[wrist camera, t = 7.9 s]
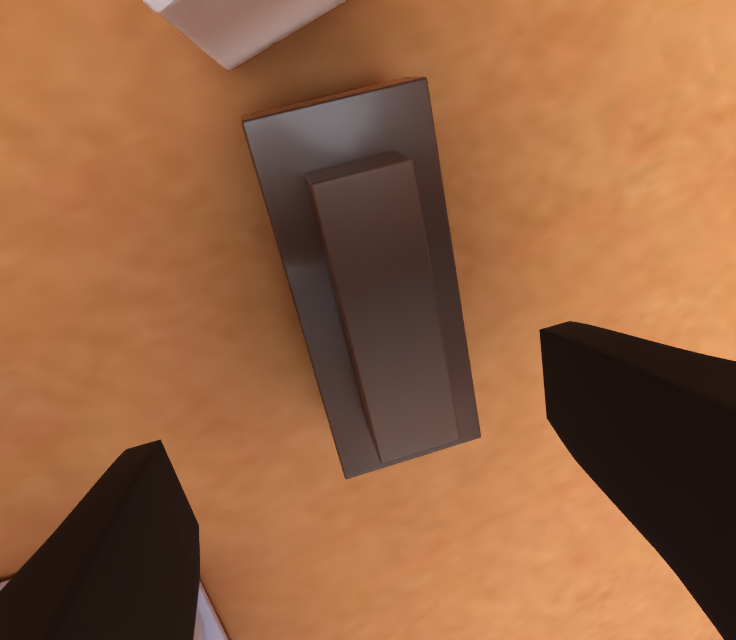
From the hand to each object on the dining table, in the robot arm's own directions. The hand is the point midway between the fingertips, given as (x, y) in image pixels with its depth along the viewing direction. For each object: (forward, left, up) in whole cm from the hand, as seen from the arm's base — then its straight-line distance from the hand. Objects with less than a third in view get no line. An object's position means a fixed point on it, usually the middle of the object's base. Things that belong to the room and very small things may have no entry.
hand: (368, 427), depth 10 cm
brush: (0, -2, -9) cm, 9 cm away
